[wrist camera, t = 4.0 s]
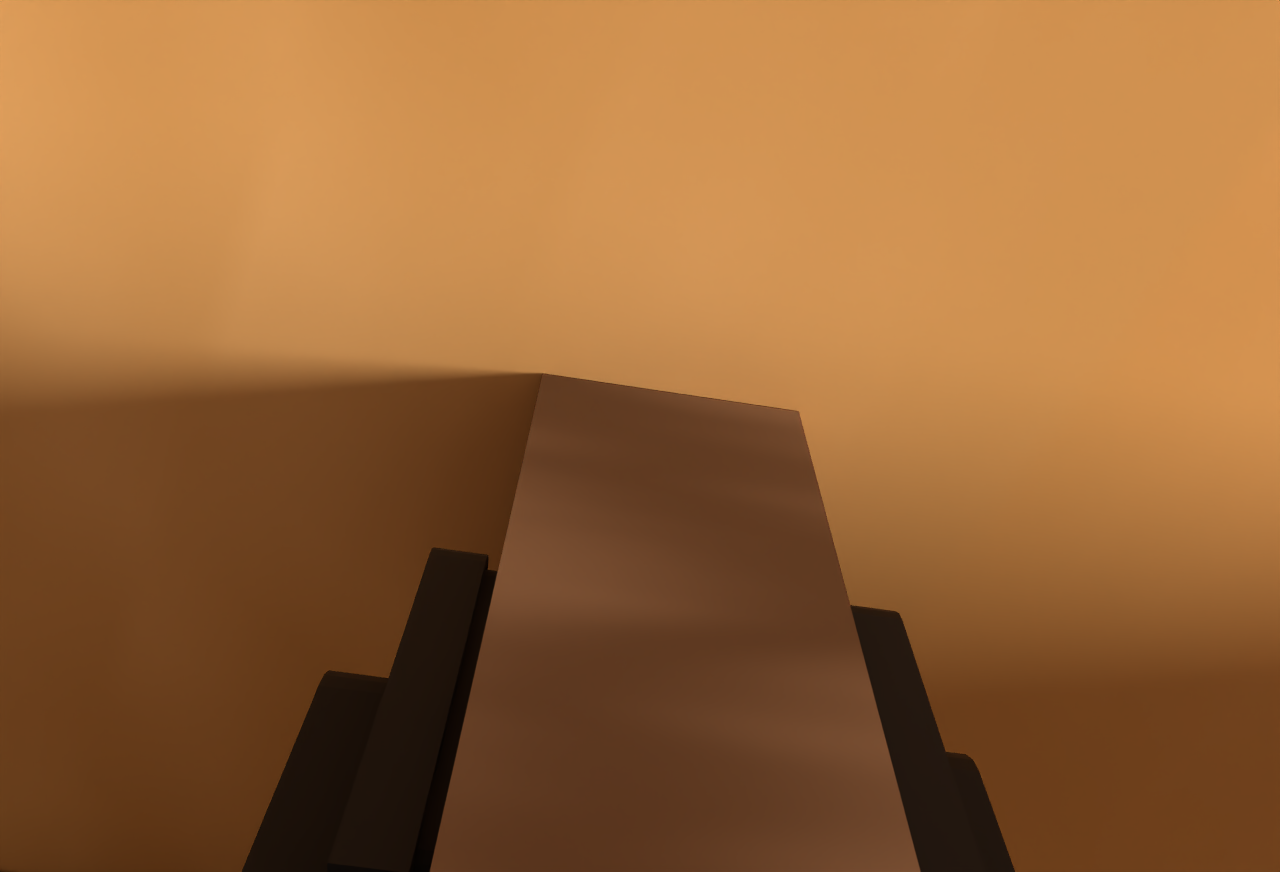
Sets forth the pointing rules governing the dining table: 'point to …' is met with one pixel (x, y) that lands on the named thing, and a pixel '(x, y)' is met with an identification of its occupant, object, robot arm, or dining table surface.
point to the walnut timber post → (669, 657)
